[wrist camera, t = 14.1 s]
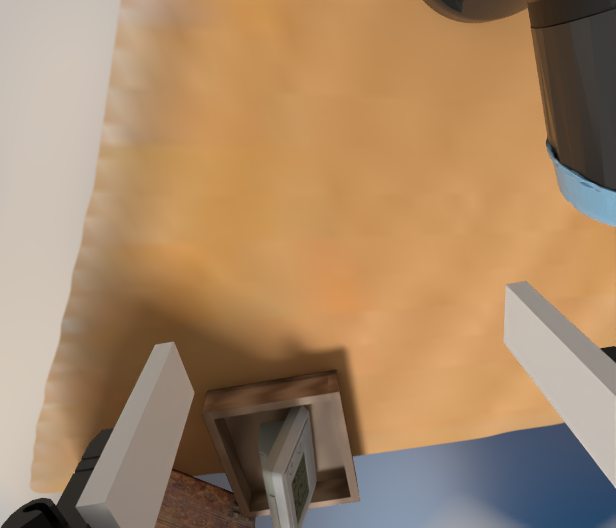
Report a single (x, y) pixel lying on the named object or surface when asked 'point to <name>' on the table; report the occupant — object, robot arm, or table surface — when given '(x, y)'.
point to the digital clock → (288, 467)
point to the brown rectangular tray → (272, 408)
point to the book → (199, 505)
